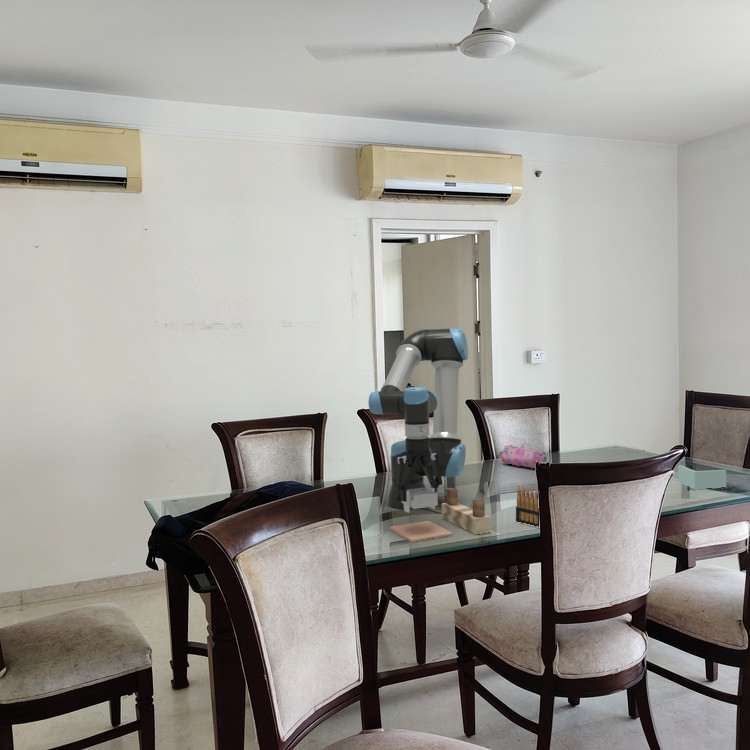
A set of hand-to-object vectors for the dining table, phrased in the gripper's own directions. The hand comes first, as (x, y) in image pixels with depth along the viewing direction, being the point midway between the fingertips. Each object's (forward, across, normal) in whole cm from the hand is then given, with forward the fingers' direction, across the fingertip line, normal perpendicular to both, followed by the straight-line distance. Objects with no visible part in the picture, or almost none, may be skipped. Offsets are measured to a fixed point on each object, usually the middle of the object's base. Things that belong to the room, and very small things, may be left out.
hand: (419, 509), depth 213 cm
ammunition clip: (+7, +34, -10) cm, 36 cm away
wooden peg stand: (+7, +16, 0) cm, 18 cm away
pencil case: (+6, +85, +68) cm, 109 cm away
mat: (+7, 0, 0) cm, 7 cm away
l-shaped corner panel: (+7, +118, 0) cm, 118 cm away
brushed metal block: (-2, 0, 0) cm, 2 cm away
